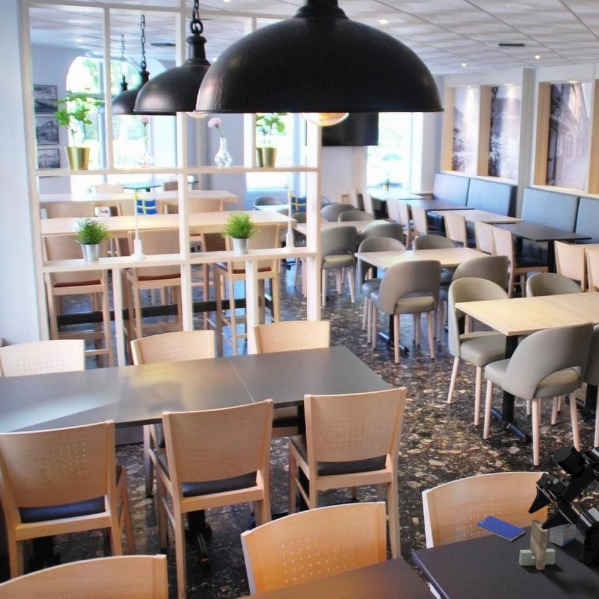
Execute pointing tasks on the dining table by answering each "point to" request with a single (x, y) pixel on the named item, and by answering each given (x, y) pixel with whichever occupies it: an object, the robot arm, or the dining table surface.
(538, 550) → the birch plate
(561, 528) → the medicine box
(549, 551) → the pale green u-shaped block
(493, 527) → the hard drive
